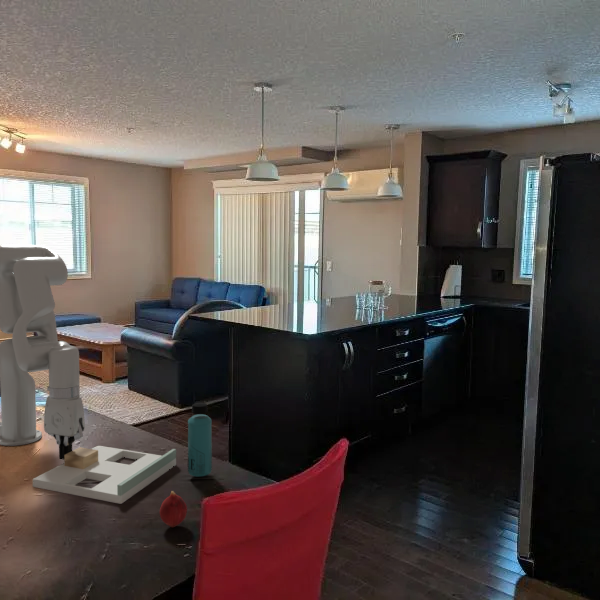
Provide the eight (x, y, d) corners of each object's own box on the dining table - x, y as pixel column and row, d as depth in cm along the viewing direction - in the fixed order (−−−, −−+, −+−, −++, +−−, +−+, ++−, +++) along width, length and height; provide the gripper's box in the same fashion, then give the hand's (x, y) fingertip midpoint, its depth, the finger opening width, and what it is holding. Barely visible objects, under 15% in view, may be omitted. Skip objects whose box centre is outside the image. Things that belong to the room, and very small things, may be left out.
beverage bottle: (216, 475, 147) (217, 402, 145) (202, 484, 141) (203, 408, 139) (196, 470, 150) (197, 398, 148) (181, 479, 144) (182, 405, 142)
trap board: (32, 486, 138) (32, 469, 137) (98, 452, 161) (97, 437, 161) (121, 503, 130) (121, 485, 129) (176, 464, 154) (176, 449, 153)
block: (64, 465, 146) (64, 454, 146) (80, 457, 152) (79, 447, 151) (83, 469, 144) (83, 458, 144) (98, 460, 150) (98, 450, 150)
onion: (191, 523, 122) (192, 488, 121) (177, 535, 116) (178, 499, 116) (169, 518, 124) (169, 484, 123) (154, 530, 118) (154, 495, 117)
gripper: (31, 392, 146) (33, 459, 148) (77, 398, 142) (79, 467, 144) (52, 386, 153) (53, 449, 155) (97, 391, 149) (97, 456, 151)
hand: (65, 457), depth 149 cm, fingers closed
